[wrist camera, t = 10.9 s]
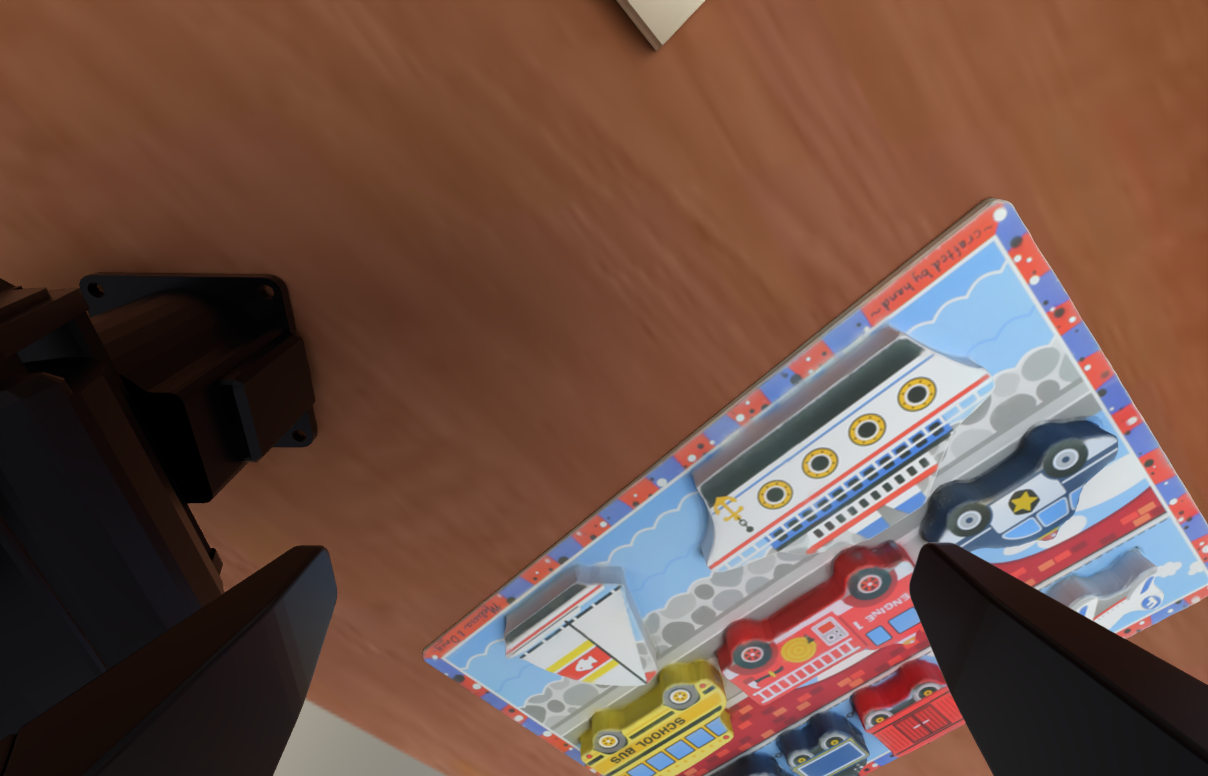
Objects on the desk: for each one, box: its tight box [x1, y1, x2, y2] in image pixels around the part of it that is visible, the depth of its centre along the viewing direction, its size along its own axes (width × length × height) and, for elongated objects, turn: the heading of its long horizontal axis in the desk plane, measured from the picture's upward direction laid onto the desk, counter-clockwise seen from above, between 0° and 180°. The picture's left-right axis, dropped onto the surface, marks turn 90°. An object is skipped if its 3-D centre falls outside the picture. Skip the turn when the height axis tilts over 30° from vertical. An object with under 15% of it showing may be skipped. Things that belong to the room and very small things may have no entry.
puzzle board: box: [423, 197, 1208, 776], centre depth 27 cm, size 30×23×3 cm
